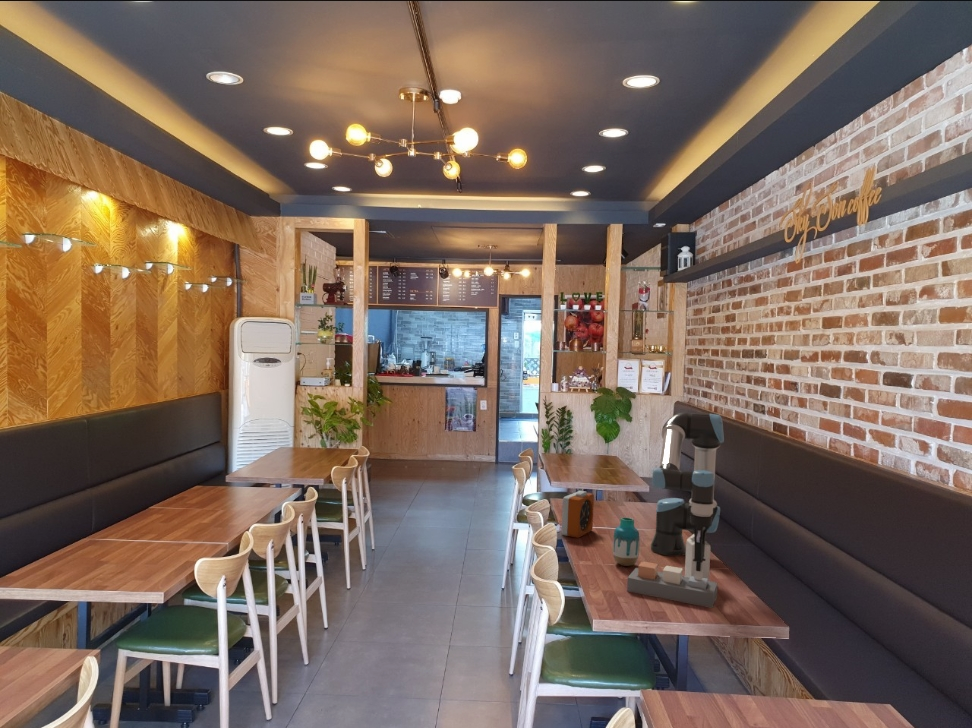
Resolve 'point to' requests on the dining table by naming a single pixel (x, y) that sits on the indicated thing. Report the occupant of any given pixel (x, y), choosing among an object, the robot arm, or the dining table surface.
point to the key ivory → (672, 574)
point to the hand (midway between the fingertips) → (698, 579)
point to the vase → (626, 543)
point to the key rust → (648, 570)
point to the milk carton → (690, 556)
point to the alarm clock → (577, 514)
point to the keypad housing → (673, 589)
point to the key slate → (698, 583)
